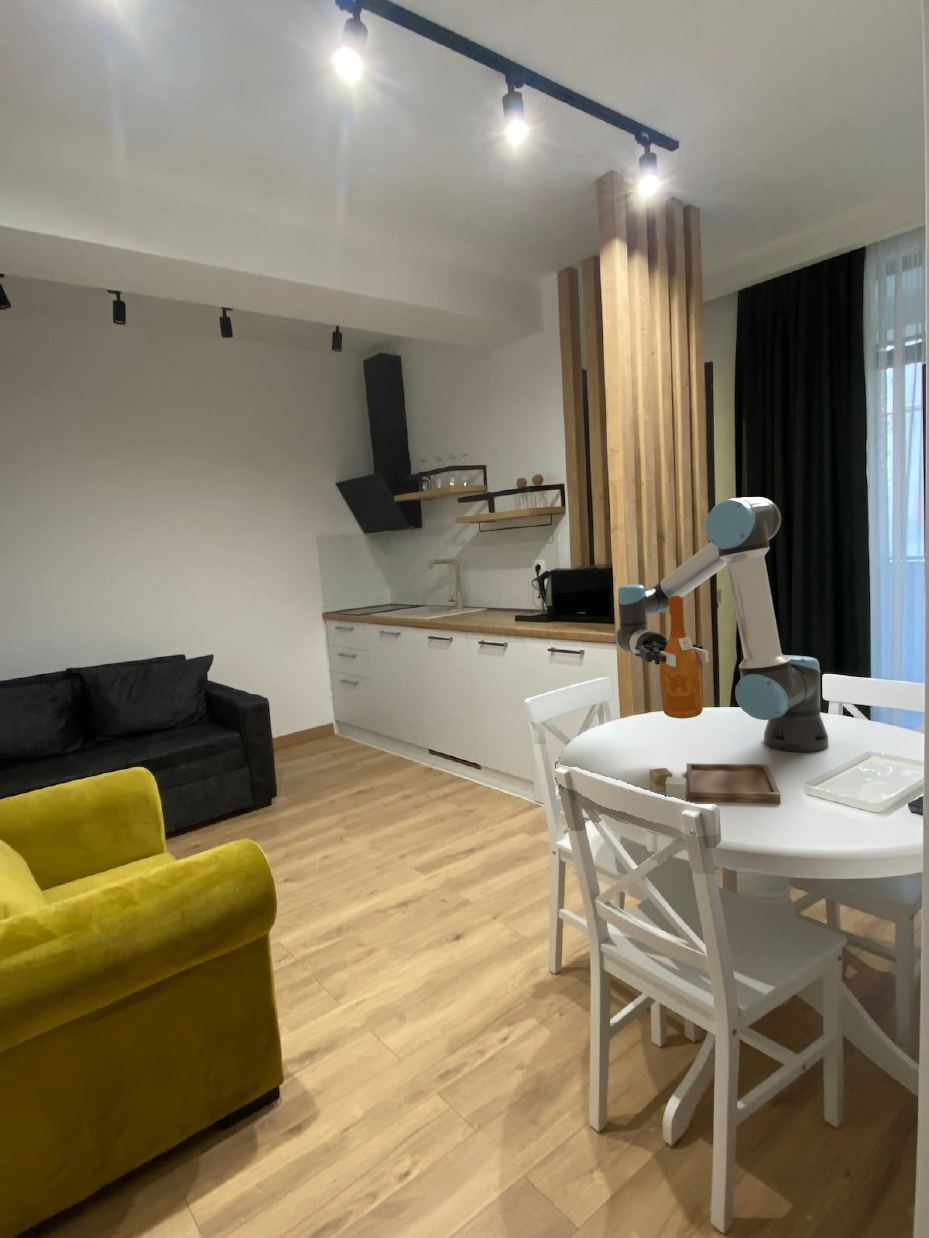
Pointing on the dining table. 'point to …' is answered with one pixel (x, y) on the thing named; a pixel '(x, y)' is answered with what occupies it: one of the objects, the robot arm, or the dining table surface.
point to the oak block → (659, 779)
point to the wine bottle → (680, 670)
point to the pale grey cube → (676, 787)
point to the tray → (732, 783)
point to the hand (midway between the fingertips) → (690, 658)
